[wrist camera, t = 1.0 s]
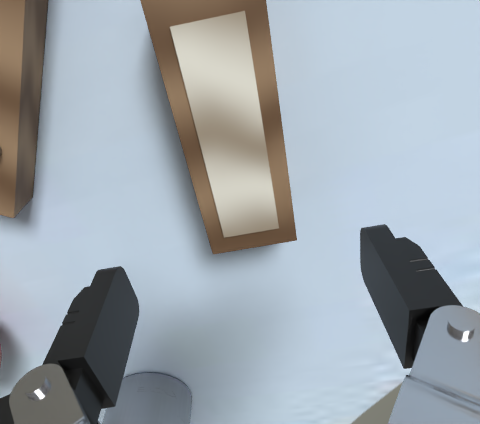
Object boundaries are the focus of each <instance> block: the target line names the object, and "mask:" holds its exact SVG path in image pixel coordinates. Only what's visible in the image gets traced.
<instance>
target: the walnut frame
mask: <svg viewBox="0 0 480 424" xmlns="http://www.w3.org/2000/svg"><path fill="white" fill-rule="evenodd" d="M140 1H141V4H142V8H143V11H144V15H145V18H146V22H147V25H148V29H149V32H150V36H151V39H152V43H153V46H154V50H155V53H156V57H157V60H158V64H159V67H160V71H161V74H162V78H163V81H164V85H165V88H166V92H167V95H168V99H169V102H170V106H171V109H172V113H173V116H174V120H175V123H176V127H177V130H178V134H179V137H180V141H181V144H182V148H183V151H184V155H185V158H186V162H187V165H188V169H189V172H190V176H191V179H192V183H193V186H194V190H195V193H196V197H197V200H198V204H199V207H200V211H201V214H202V218H203V221H204V225H205V228H206V232H207V235H208V239H209V242H210V246H211V249H212V253H213V254H218V253H224V252H230V251H236V250H242V249H248V248H254V247H260V246H266V245H272V244H278V243H283V242H289V241H295V240H297V237H296V230H295V222H294V214H293V206H292V199H291V191H290V183H289V175H288V168H287V160H286V152H285V144H284V137H283V129H282V121H281V113H280V106H279V98H278V90H277V82H276V75H275V67H274V59H273V51H272V44H271V36H270V28H269V20H268V13H267V5H266V0H140Z"/></svg>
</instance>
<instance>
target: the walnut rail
mask: <svg viewBox="0 0 480 424" xmlns="http://www.w3.org/2000/svg"><path fill="white" fill-rule="evenodd" d="M47 8H48V0H0V215H3V216H7V217H11V218H15V216H16V215H17V214H18V213H19V212H20V211H21V210H22V209H23V207H24V206H25V205H26V204H27V203H28V202H29V201H30V199H31V198H32V197H33V186H34V174H35V161H36V148H37V135H38V123H39V110H40V97H41V85H42V72H43V59H44V47H45V34H46V21H47Z"/></svg>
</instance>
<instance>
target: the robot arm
mask: <svg viewBox="0 0 480 424" xmlns="http://www.w3.org/2000/svg"><path fill="white" fill-rule="evenodd" d="M360 263H361V272H362V276H363V280H364V282H365V285H366V287H367V289H368V291H369V293H370V296H371V298H372V300H373V302H374V304H375V307H376V309H377V311H378V313H379V315H380V318H381V320H382V322H383V324H384V326H385V328H386V331H387V333H388V335H389V337H390V339H391V342H392V344H393V346H394V348H395V350H396V352H397V355H398V357H399V359H400V361H401V363H402V366H403V368H404V369H406V368H412V369H411V372H410V374H409V376H408V375H406V377H405V379H404V381H403V383H402V386H401V389H400V391H399V394H398V397H397V400H396V403H395V405H394V408H393V411H392V414H391V416H390V419H389V422H388V424H480V313H478V312H476V311H474V310H472V309H470V308H467V307H463V306H462V304H461V303H460V302H459V300H458V299H457V297H456V296H455V295H454V293H453V292H452V291H451V289H450V288H449V286H448V285H447V284H446V282H445V281H444V280H443V278H442V277H441V275H440V274H439V273H438V271H437V270H435V268H434V266H433V264H432V263H431V262H430V260H428V257H427V256H426V255H425V253H424V252H423V251H422V249H421V248H420V246H418V245H417V244H415V243H414V242H412V241H411V240H409V239H407V238H406V237H403V238H397V239H395V237H394V236H393V234H392V233H391V231H390V230H389V228H388V227H387V225H385V224H384V225H378V226H372V227H365V228H361V232H360ZM67 313H68V314H67V315H66V316H65V318H64V320H63V322H62V324H63V325H62V326H61V327H60V329H59V331H58V333H57V335H56V337H55V339H54V341H53V344H52V346H51V348H50V350H49V352H48V354H47V356H46V358H45V360H44V363H43V365H41V366H39V367H36V368H34V369H33V370H31V371H30V372H28V373H27V374H26V375H24V376H23V377H22V378H21V379H20V380H19V381H18V383H17V384H16V385H15V387H14V388H13V390H12V392H11V394H10V395H7V396H5V397H3V398H0V424H100V422H99V421H98V418H99V414H100V411H101V409H103V408H107V409H106V412H105V416H104V419H103V423H102V424H190V417H191V404H192V395H191V392H190V390H189V388H188V387H187V386H186V385H185V384H184V383H182V382H181V381H179V380H178V379H175V378H173V377H171V376H167V375H163V374H157V373H140V374H134V375H131V376H127V377H125V378H123V375H124V371H125V367H126V363H127V360H128V356H129V352H130V348H131V344H132V340H133V336H134V332H135V328H136V325H137V321H138V317H139V304H138V299H137V297H136V295H135V292H134V290H133V288H132V286H131V283H130V281H129V279H128V277H127V275H126V272H125V270H124V269H123V268H122V267H120V266H119V267H113V268H107V269H101V270H98V271H97V272H96V274H95V276H94V279H93V281H92V283H91V285H90V286H89V287H84V288H83V290H82V291H81V292H80V293H79V294H78V295H77V296H76V297H75V298H74V299H73V301H72V303H71V306H70V308H69V310H68V312H67Z"/></svg>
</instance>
